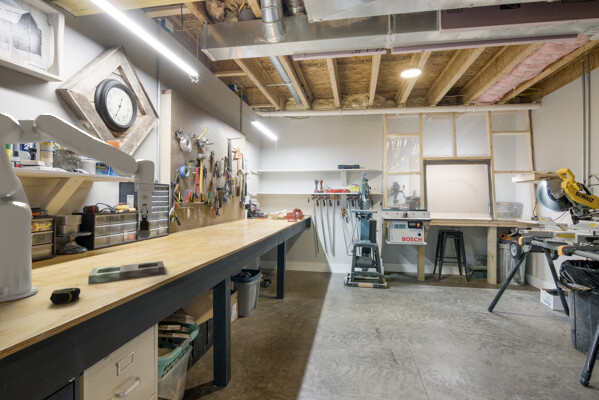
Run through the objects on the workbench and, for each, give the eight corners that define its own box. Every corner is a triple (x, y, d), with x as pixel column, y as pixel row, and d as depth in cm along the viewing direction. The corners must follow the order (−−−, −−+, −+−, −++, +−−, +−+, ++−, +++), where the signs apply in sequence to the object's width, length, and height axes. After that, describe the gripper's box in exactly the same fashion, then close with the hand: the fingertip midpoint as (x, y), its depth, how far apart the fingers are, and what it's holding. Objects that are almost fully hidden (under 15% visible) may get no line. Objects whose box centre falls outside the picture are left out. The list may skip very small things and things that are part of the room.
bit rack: (162, 267, 124) (162, 260, 124) (164, 273, 114) (164, 266, 114) (92, 275, 111) (92, 268, 111) (88, 283, 100) (88, 275, 100)
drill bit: (132, 239, 113) (143, 222, 120) (144, 244, 114) (155, 226, 122) (134, 232, 110) (145, 215, 117) (147, 237, 111) (158, 220, 119)
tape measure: (81, 296, 88) (81, 285, 88) (76, 303, 82) (76, 291, 82) (53, 300, 85) (53, 288, 85) (47, 307, 79) (47, 295, 79)
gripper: (155, 188, 110) (155, 231, 110) (153, 189, 124) (152, 227, 124) (134, 187, 106) (133, 232, 106) (134, 188, 120) (134, 228, 120)
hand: (144, 229), depth 115 cm, fingers closed on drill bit, 5 cm apart
